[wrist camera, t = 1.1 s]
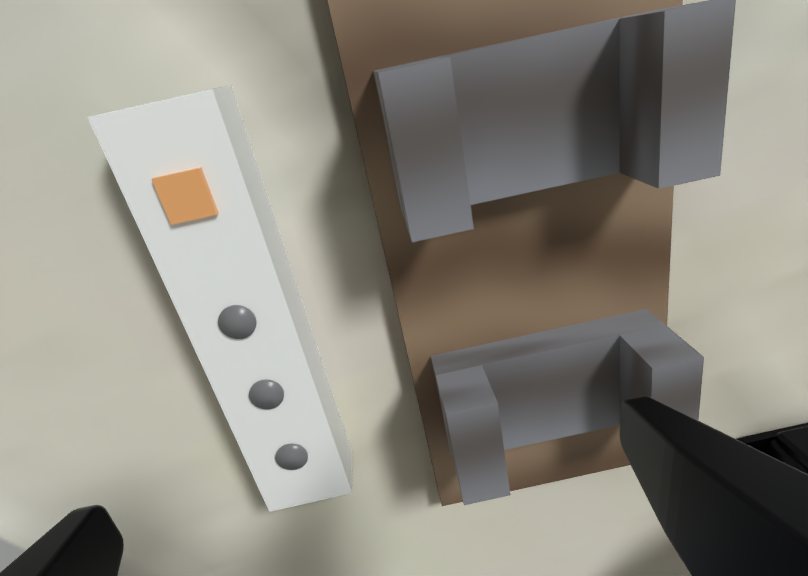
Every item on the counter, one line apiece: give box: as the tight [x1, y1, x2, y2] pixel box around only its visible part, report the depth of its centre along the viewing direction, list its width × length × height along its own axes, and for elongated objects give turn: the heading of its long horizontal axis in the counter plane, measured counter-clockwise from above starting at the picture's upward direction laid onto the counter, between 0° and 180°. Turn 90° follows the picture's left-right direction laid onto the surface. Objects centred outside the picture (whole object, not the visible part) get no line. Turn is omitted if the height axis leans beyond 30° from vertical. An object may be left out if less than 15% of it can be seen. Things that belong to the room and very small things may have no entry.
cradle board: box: [327, 0, 736, 506], centre depth 19 cm, size 26×12×5 cm, turn 11°
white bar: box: [88, 85, 353, 512], centre depth 20 cm, size 18×4×3 cm, turn 12°
